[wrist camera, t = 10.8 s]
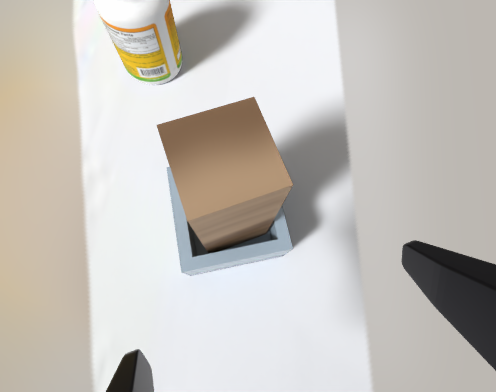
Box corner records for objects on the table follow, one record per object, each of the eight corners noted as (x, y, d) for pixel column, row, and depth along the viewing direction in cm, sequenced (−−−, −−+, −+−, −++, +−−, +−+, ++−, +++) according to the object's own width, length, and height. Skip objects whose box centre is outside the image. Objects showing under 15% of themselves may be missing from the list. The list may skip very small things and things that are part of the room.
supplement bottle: (153, 32, 29) (116, -87, 20) (194, 60, 29) (176, -50, 19) (113, 66, 28) (54, -46, 19) (156, 97, 27) (115, -4, 18)
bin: (283, 255, 23) (293, 248, 19) (190, 275, 22) (181, 272, 19) (262, 171, 25) (267, 149, 21) (177, 186, 24) (166, 167, 21)
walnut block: (265, 234, 23) (293, 184, 12) (209, 254, 22) (187, 221, 11) (245, 182, 24) (254, 96, 13) (191, 200, 23) (156, 125, 13)
